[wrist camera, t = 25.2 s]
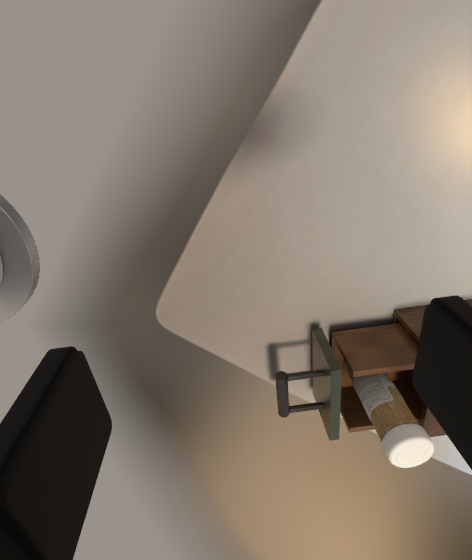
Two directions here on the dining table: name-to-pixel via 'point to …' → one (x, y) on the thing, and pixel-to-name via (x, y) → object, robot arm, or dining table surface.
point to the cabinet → (413, 324)
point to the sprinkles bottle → (392, 420)
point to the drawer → (354, 374)
